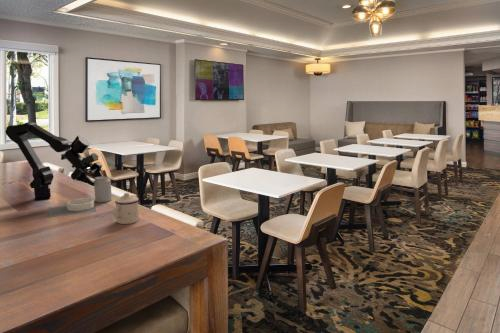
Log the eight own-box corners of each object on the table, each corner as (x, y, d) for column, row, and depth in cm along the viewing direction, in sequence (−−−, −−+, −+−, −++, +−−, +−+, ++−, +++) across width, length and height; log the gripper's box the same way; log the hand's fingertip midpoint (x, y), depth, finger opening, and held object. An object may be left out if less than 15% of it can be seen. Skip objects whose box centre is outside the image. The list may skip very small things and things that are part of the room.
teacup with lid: (127, 216, 160) (126, 189, 158) (144, 219, 156) (143, 191, 154) (105, 224, 149) (103, 196, 147) (123, 228, 145) (121, 198, 143)
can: (106, 203, 179) (104, 179, 177) (92, 203, 180) (90, 178, 178) (114, 199, 186) (113, 176, 184) (101, 199, 187) (99, 175, 185)
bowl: (67, 212, 164) (66, 205, 163) (67, 206, 174) (66, 199, 173) (95, 209, 168) (94, 202, 168) (93, 203, 178) (92, 197, 178)
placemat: (47, 218, 157) (47, 217, 157) (48, 208, 171) (48, 207, 171) (96, 212, 165) (96, 211, 165) (94, 203, 179) (94, 202, 179)
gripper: (74, 151, 171) (98, 175, 171) (97, 146, 189) (119, 168, 189) (60, 167, 173) (84, 191, 173) (84, 161, 191) (105, 183, 192)
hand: (99, 183), depth 182 cm, fingers open, 9 cm apart
